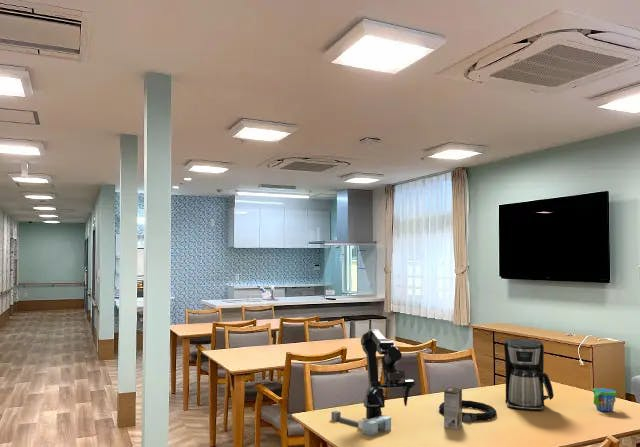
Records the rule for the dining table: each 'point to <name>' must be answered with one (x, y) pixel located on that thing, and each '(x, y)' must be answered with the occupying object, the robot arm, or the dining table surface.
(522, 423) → the dining table surface
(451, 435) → the dining table surface
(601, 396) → the snack cup
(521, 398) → the coffee maker
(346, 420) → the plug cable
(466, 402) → the cable lock
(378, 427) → the motor housing
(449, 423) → the coffee box
